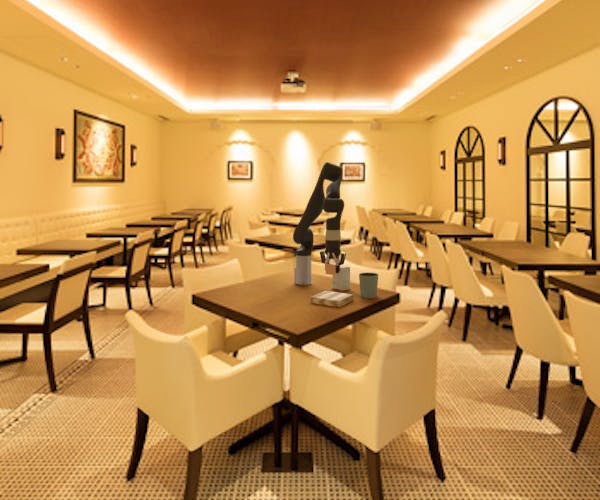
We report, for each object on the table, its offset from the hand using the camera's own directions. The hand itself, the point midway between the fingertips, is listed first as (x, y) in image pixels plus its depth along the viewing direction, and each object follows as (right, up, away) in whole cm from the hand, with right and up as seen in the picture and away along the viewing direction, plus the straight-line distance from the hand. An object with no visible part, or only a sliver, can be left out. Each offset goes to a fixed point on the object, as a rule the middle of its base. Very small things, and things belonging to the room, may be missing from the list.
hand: (332, 272), depth 234 cm
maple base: (0, -15, +2) cm, 15 cm away
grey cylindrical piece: (+20, -14, +13) cm, 28 cm away
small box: (+7, -11, +30) cm, 33 cm away
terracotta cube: (0, -1, 0) cm, 1 cm away
